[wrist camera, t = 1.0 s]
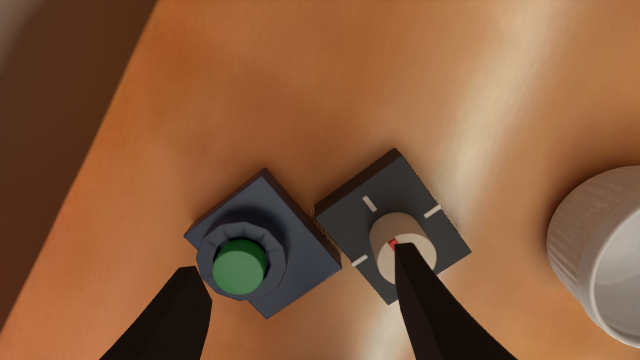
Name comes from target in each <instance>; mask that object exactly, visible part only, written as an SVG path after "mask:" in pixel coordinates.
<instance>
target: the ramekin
mask: <svg viewBox="0 0 640 360" xmlns="http://www.w3.org/2000/svg"><path fill="white" fill-rule="evenodd" d="M546 241H547V244H546V248H547V256H548V258H549V262H550V264H551V266H552V268H553V271H554V272H555V274H556V275H557V276H558V278H559V279H560V280H561V282H562V283H563V284H564V285H565V286H566V288H567V289H568V290H569V291H570V292H571V293H572V294H573V295H574V296H575V297H576V299H577V300H578V301H579V302H580V303H581V304H582V306H583V308H584V310H585V311H586V313H587V314H588V315H589V317H590V318H591V319H592V320H593V321H594V322H595V323H596V324H597V325H598V326H599V327H601V328H602V329H603V330H604V331H605V332H607V333H608V334H609V335H610V336H612V337H613V338H615V339H616V340H618V341H620V342H622V343H624V344H626V345H629V346H632V347H636V348H640V165H639V166H627V167H619V168H616V169H612V170H608V171H606V172H604V173H600V174H598V175H596V176H594V177H592V178H590V179H588V180H587V181H585V182H583V183H582V184H580V185H579V186H578V187H576V188H575V189H574V190H573V191H571V192H570V193H569V194H568V195H567V196H566V197H565V198H564V199H563V201H562V202H561V203H560V204H559V206H558V207H557V209H556V211H555V212H554V214H553V216H552V219H551V221H550V224H549V228H548V233H547V238H546Z"/></svg>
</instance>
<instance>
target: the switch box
mask: <svg viewBox="0 0 640 360" xmlns="http://www.w3.org/2000/svg"><path fill="white" fill-rule="evenodd" d="M183 236H184V237H185V238H186V239H187V240H188V241H189V242H190V243H191V244H192V245H193V246H194V247H195V248H196V249H197V250H198V253H197V256H196V260H197V264H198V267H199V271H200V275H201V278H202V279H203V280H204V281H205V282H206V283H207V284H208V285H209V286H210V287H211V288H212V289H213V290H214V291H215V292H216V293H218V294H220V295H223V296H226V297H229V298H232V299H235V300H239V301H243V300H248V301H249V302H250V303H251V304H252V305H253V306H254V307H255V308H256V309H257V310H258V311H259V312H260V313H261V314H262V315H263V316H264V317H265V318H266V319H268V318H270V317H271V316H273V315H274V314H276V313H277V312H279V311H280V310H281V309H283V308H284V307H286V306H287V305H289V304H290V303H292V302H293V301H295V300H296V299H298V298H299V297H301V296H302V295H304V294H305V293H307V292H308V291H310V290H311V289H313V288H314V287H315V286H317V285H318V284H320V283H321V282H323V281H324V280H326V279H327V278H329V277H330V276H332V275H333V274H335V273H336V272H338V271H339V270H341V269H342V264H341V257H340V254H339V253H338V252H337V251H336V249H335V248H334V247H333V246H332V245H331V243H330V242H329V241H328V240H327V239H326V238H325V236H324V235H323V234H322V233H321V232H320V231H319V229H318V228H317V227H316V226H315V225H314V224H313V222H312V221H311V220H310V219H309V218H308V217H307V215H306V214H305V213H304V212H303V211H302V210H301V208H300V207H299V206H298V205H297V204H296V202H295V201H294V200H293V199H292V198H291V197H290V195H289V194H288V193H287V192H286V191H285V190H284V188H283V187H282V186H281V185H280V184H279V183H278V181H277V180H276V179H275V178H274V177H273V176H272V174H271V173H270V172H269V171H268V170H267V169H266V168H264V169H262V170H261V171H260V172H259V173H257V174H256V175H255V176H253V177H252V178H251V179H250V180H248V181H247V182H246V183H244V184H243V185H242V186H240V187H239V188H238V189H237V190H235V191H234V192H233V193H231V194H230V195H229V196H228V197H226V198H225V199H224V200H222V201H221V202H220V203H219V204H217V205H216V206H215V207H213V208H212V209H211V210H209V211H208V212H207V213H206V214H204V215H203V216H202V217H200V218H199V219H198V220H197V221H195V222H194V223H193V224H192V225H191V226H190V227H189V229H188V230H187V231H186V233H185V234H184V235H183ZM237 239H245V240H250V241H252V242H254V243H256V244H257V245H259V246H260V247H261V248H262V250H263V251H264V253H265V255H266V259H267V264H266V269H265V273H264V277H263V281H262V283H261V284H260V286H259V287H258V288H257V289H256V290H254V291H253V292H251V293H248V294H244V295H235V294H230V293H228V292H226V291H224V290H222V289H221V288H220V287H219V286H218V285H217V284H216V282H215V280H214V278H213V274H212V267H213V264H214V262H215V260H216V258H217V256H218V254H219V252H220V250H221V249H222V247H223V246H224V245H225V244H227V243H228V242H230V241H233V240H237Z"/></svg>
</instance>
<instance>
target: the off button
mask: <svg viewBox="0 0 640 360" xmlns="http://www.w3.org/2000/svg"><path fill="white" fill-rule="evenodd" d="M266 264H267V259H266V255H265V253H264V251H263V250H262V248H261V247H260V246H259V245H257V244H256V243H254V242H252V241H250V240H245V239H237V240H233V241H230V242H228V243H227V244H225V245H224V246H223V247H222V249H221V250H220V252H219V254H218V256H217V258H216V260H215V262H214V264H213V267H212V274H213V278H214V280H215V282H216V284H217V285H218V286H219V287H220V288H221V289H222V290H224V291H226V292H228V293H230V294H235V295H244V294H248V293H251V292H253V291H254V290H256V289H257V288H258V287H259V286H260V284H261V283H262V281H263V277H264V273H265V269H266Z"/></svg>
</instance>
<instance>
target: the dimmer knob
mask: <svg viewBox="0 0 640 360" xmlns="http://www.w3.org/2000/svg"><path fill="white" fill-rule="evenodd" d="M369 240H370V244H371V248H372V251H373V254H374V257H375V260H376V263H377V266H378V269H379V271H380V273H381V275H382V276H383V277H384V278H385V279H386V280H387V281H389V282H391V283H393V284H395V256H394V244H400V243H409V242H412V243H414V244H415V245H416V247H417V249H418V250H419V252H420V253H421V255H422V256H423V258H424V259H425V261H426V262H427V264H428V265H429V266H430V268H431V269H432V270H433V269H434V267H435V264H436V251H435V248H434V246H433V244H432V243H431V241H430V240H429V238H428V237H427V235H426V234H425V233H424V231H423V230H422V228H421V227H420V225H419V224H418V222H417V221H416V220H415V219H414V218H413V217H412V216H410V215H408V214H405V213H401V212H394V213H389V214H386V215H384V216H382V217H380V218H379V219H378V220H377V221H376V222H375V223H374V224H373V226H372V228H371V230H370V235H369Z"/></svg>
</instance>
